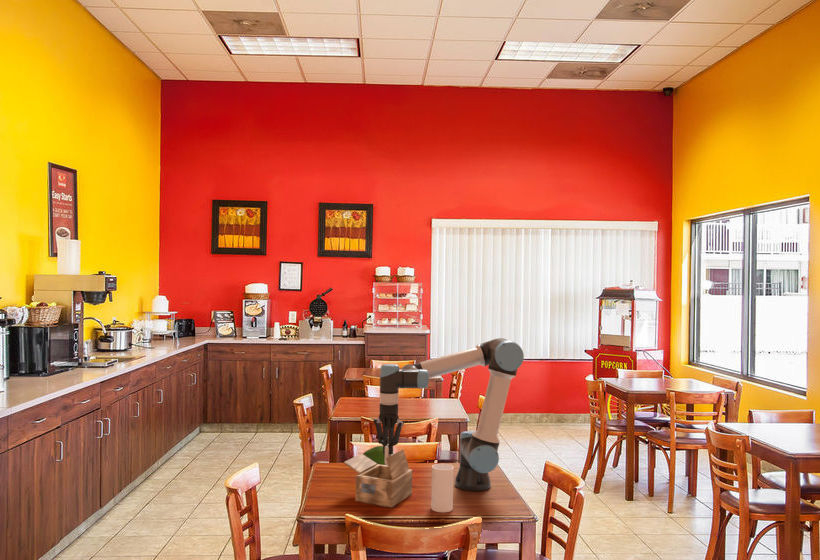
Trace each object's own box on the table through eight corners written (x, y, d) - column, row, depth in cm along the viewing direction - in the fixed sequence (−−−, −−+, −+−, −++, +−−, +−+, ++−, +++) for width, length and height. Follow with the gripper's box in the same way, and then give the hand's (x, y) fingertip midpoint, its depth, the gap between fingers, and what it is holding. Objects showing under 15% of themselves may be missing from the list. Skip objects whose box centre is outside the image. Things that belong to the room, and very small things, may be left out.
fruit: (360, 470, 285) (361, 448, 285) (362, 464, 295) (362, 442, 295) (393, 470, 285) (394, 449, 285) (393, 464, 295) (394, 443, 295)
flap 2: (409, 468, 252) (403, 449, 254) (393, 478, 240) (387, 457, 241) (407, 469, 253) (402, 449, 254) (391, 478, 240) (386, 457, 241)
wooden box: (412, 493, 254) (413, 469, 255) (390, 508, 237) (391, 482, 237) (378, 487, 261) (378, 463, 261) (354, 501, 244) (355, 476, 244)
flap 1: (376, 463, 259) (361, 453, 262) (360, 472, 246) (344, 461, 249) (376, 464, 259) (361, 455, 262) (359, 473, 246) (343, 463, 250)
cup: (430, 504, 242) (430, 463, 242) (450, 504, 243) (451, 463, 243) (432, 512, 234) (433, 469, 234) (454, 512, 235) (455, 469, 235)
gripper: (407, 403, 250) (406, 462, 249) (379, 400, 255) (378, 457, 255) (399, 406, 243) (398, 466, 243) (370, 403, 249) (368, 462, 248)
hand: (387, 462), depth 249 cm, fingers closed
